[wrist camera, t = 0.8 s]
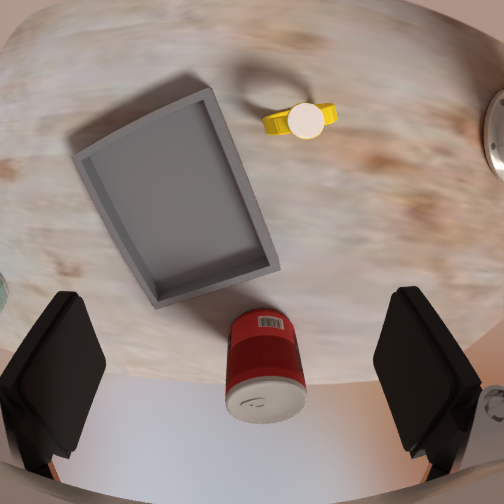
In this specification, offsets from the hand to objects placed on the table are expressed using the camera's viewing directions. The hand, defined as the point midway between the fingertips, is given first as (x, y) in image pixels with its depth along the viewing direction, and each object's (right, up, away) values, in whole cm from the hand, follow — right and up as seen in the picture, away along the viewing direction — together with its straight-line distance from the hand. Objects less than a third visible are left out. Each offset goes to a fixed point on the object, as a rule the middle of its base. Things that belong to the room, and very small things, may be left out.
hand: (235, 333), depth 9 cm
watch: (+4, +15, +18) cm, 23 cm away
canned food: (+2, -7, +29) cm, 30 cm away
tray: (-6, +7, +21) cm, 23 cm away
